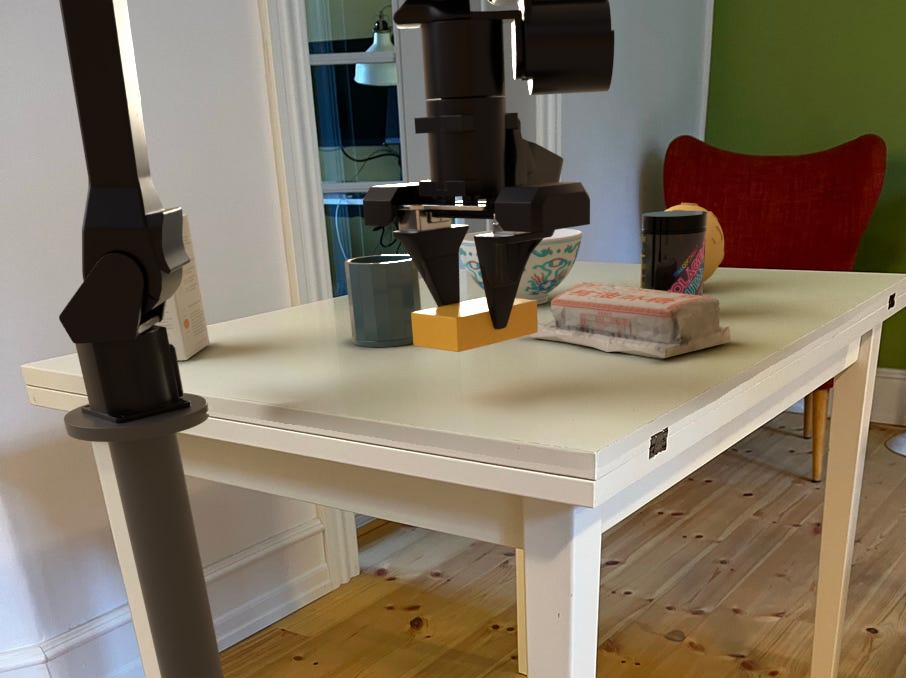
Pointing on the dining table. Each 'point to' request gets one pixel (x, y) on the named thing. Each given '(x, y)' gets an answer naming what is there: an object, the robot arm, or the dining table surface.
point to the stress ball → (708, 239)
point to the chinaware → (533, 263)
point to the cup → (382, 299)
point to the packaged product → (634, 320)
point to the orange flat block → (470, 325)
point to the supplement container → (673, 251)
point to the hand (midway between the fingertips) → (476, 325)
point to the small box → (186, 308)
